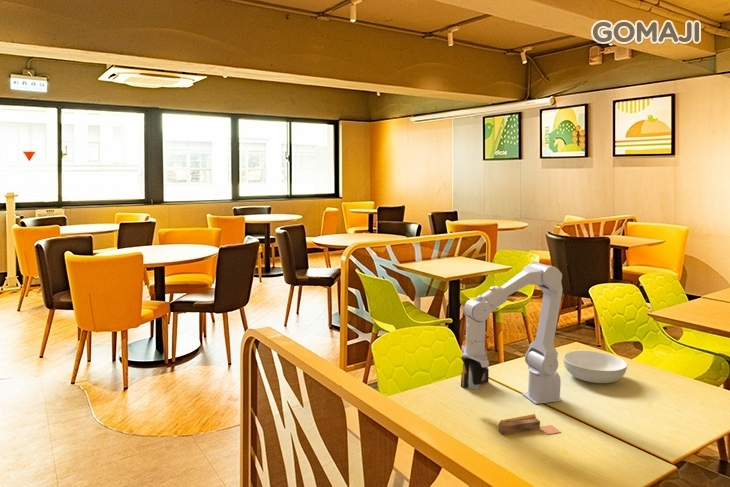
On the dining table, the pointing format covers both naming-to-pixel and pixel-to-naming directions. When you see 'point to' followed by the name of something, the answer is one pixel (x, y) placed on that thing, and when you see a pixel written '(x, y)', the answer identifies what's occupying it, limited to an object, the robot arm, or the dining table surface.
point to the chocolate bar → (518, 418)
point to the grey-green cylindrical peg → (472, 381)
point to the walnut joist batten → (519, 426)
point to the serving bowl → (594, 366)
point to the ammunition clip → (465, 380)
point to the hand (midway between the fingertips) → (474, 381)
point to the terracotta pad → (549, 429)
